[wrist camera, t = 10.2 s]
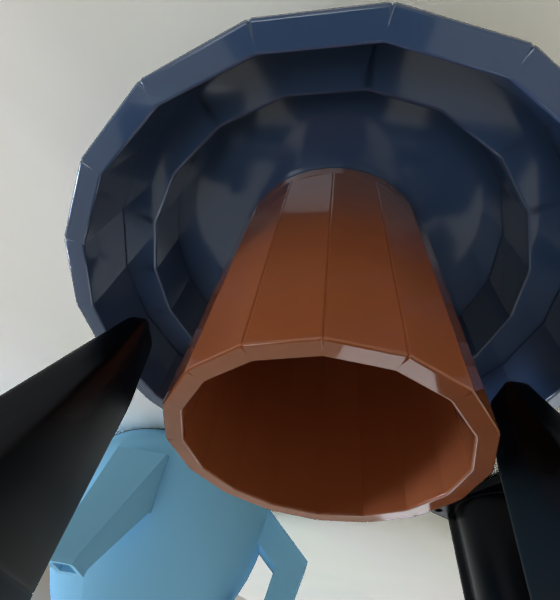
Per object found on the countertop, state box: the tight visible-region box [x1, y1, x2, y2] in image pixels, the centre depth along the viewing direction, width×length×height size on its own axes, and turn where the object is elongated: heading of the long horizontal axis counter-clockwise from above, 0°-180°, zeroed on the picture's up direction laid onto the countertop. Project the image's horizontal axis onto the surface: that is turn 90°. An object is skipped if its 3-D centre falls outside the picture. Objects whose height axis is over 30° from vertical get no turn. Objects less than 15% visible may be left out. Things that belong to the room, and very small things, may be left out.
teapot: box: [48, 429, 307, 600], centre depth 23 cm, size 15×15×11 cm
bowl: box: [65, 2, 560, 410], centre depth 12 cm, size 14×14×5 cm
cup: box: [162, 168, 500, 522], centre depth 10 cm, size 6×6×8 cm
